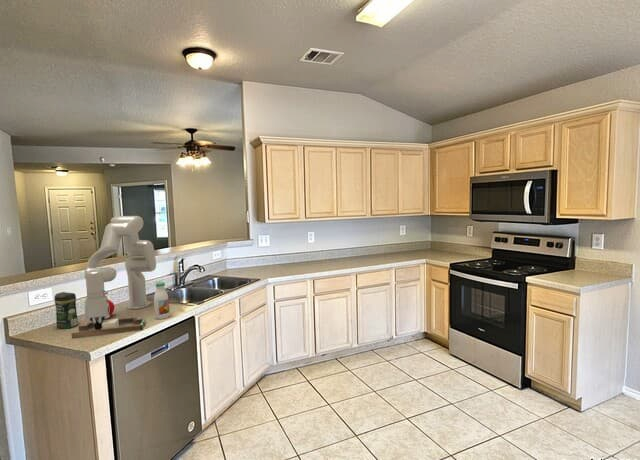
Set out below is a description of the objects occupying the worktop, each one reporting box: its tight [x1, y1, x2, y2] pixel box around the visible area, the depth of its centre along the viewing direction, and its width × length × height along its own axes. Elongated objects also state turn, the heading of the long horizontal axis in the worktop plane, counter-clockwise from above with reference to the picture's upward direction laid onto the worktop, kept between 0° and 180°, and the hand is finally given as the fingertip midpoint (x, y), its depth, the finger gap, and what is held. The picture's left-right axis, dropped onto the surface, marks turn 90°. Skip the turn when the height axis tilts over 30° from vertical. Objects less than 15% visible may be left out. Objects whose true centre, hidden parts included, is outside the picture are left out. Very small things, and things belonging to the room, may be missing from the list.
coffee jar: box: [53, 291, 79, 329], centre depth 186 cm, size 10×8×19 cm
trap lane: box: [71, 316, 147, 339], centre depth 181 cm, size 15×31×2 cm, turn 108°
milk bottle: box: [153, 281, 170, 320], centre depth 198 cm, size 8×8×20 cm
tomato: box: [97, 299, 115, 320], centre depth 200 cm, size 11×12×10 cm
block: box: [101, 318, 120, 329], centre depth 179 cm, size 6×6×5 cm
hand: (98, 329), depth 178 cm, fingers closed
